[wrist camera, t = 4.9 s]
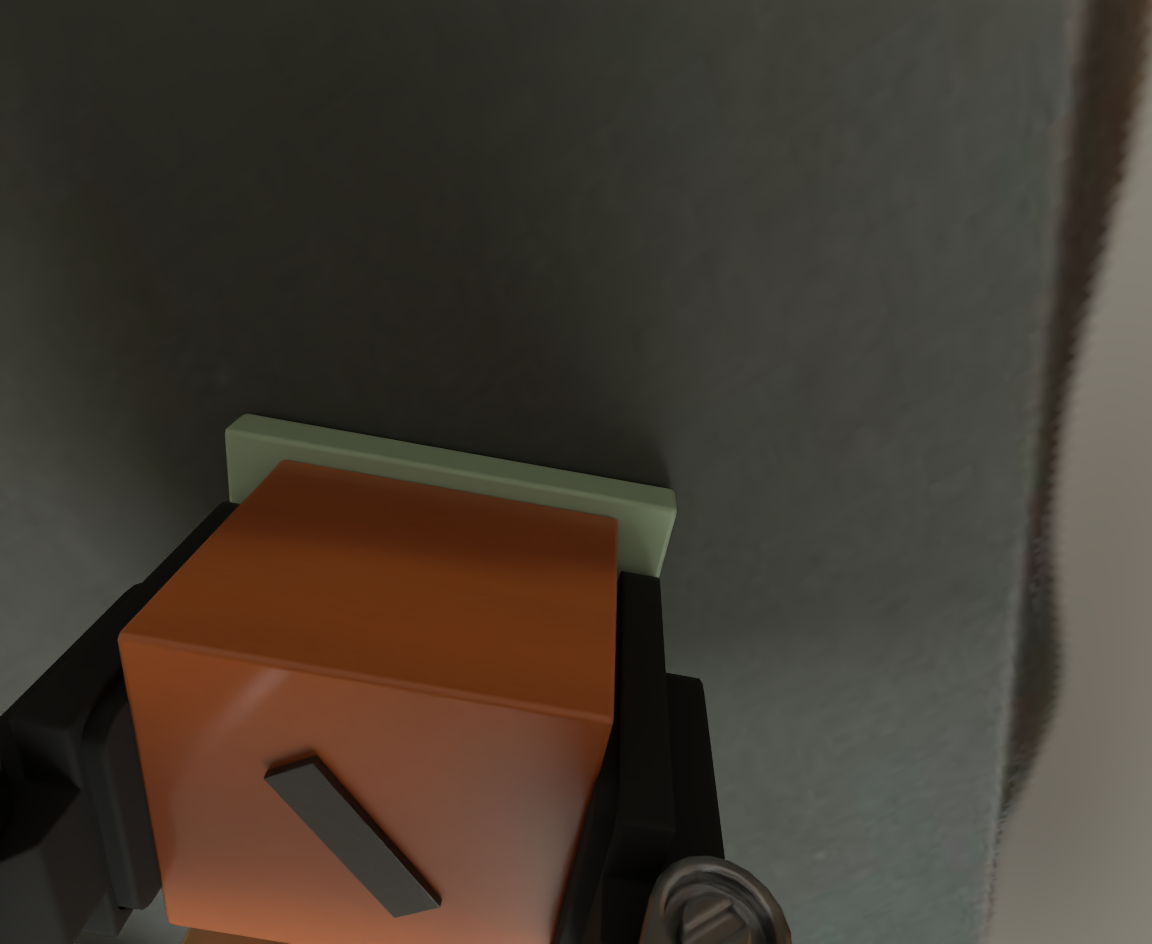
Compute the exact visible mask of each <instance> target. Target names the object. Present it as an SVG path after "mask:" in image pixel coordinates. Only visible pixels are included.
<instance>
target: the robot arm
mask: <svg viewBox="0 0 1152 944" xmlns="http://www.w3.org/2000/svg"><path fill="white" fill-rule="evenodd" d="M239 505H240V504H238V503H232V502H223V503H221V504H220V505H219V506H218V507H217V508H216V509H215V510H214V511H213V512H212V513H211V514H210V515H209V516H208V517H207V518H206V519H205V520H204V521H203V522H202V523H201V524H200V525H199V526H198V527H197V528H196V529H195V530H194V531H193V532H192V533H191V534H190V535H189V536H188V537H187V538H186V539H185V540H184V541H183V542H182V543H181V544H180V545H179V546H178V547H177V548H176V549H175V550H174V551H173V552H172V553H171V554H170V555H169V556H168V557H167V558H166V559H165V560H164V561H163V562H162V563H161V564H160V565H159V566H158V567H157V568H156V569H155V570H154V571H153V572H152V573H151V574H150V575H149V576H148V577H147V578H146V579H145V580H144V581H143V582H142V583H139V584H136V585H134V586H133V587H131V588H130V589H129V590H127V591H126V592H125V593H124V594H123V595H122V596H121V597H120V598H119V599H118V600H117V601H116V602H115V603H114V604H113V605H112V606H111V607H110V608H109V609H108V610H107V611H106V612H105V613H104V614H103V615H102V616H101V617H100V618H99V619H98V620H97V621H96V622H95V623H94V624H93V625H92V626H91V627H90V628H89V629H88V630H87V631H86V632H85V633H84V634H83V635H82V636H81V637H80V638H79V639H78V640H77V641H76V642H75V643H74V644H73V645H72V646H71V647H70V648H69V649H68V650H67V651H66V652H65V653H64V654H63V655H62V656H61V657H60V658H59V659H58V660H57V661H56V662H55V663H54V664H53V665H52V666H51V667H50V668H49V669H48V670H47V671H46V672H45V673H44V674H43V675H42V676H41V677H40V678H39V679H38V680H37V681H36V682H35V683H34V684H33V685H32V686H31V687H30V688H29V689H28V690H27V691H26V692H25V693H24V694H23V695H22V696H21V697H20V698H19V699H18V700H17V701H16V702H15V703H14V704H13V705H12V706H11V707H10V708H9V709H8V710H7V711H6V712H5V713H4V714H3V715H2V716H0V944H73V943H74V941H75V940H76V938H77V937H78V935H79V934H80V932H86V933H93V934H99V935H105V936H111V937H117V936H118V934H119V932H120V931H121V929H122V927H123V926H124V924H125V922H126V921H127V919H128V917H129V916H130V914H131V913H132V911H133V909H140V910H143V909H145V908H146V907H148V905H149V904H150V903H151V902H152V901H153V899H154V898H155V896H156V895H157V893H158V891H159V890H160V888H161V886H162V885H161V880H160V874H159V869H158V863H157V857H156V852H155V846H154V840H153V835H152V829H151V824H150V818H149V812H148V807H147V801H146V796H145V790H144V784H143V779H142V773H141V767H140V762H139V756H138V751H137V745H136V739H135V734H134V728H133V722H132V717H131V711H130V706H129V700H128V696H127V690H126V685H125V679H124V674H123V668H122V662H121V657H120V651H119V646H118V636H119V634H120V631H121V630H122V629H123V628H124V627H125V626H126V625H127V624H128V623H129V622H130V621H131V620H132V619H133V618H134V617H135V616H136V614H137V613H138V612H139V611H140V610H141V609H142V608H143V607H144V606H145V605H146V604H147V603H148V602H149V601H150V600H151V599H152V597H153V596H154V595H155V594H156V593H157V592H158V591H159V590H160V589H161V588H162V587H163V586H164V585H165V584H166V583H167V582H168V580H169V579H170V578H171V577H172V576H173V575H174V574H175V573H176V572H177V571H178V570H179V569H180V568H181V567H182V566H183V565H184V563H185V562H186V561H187V560H188V559H189V558H190V557H191V556H192V555H193V554H194V553H195V552H196V551H197V550H198V549H199V548H200V546H201V545H202V544H203V543H204V542H205V541H206V540H207V539H208V538H209V537H210V536H211V535H212V534H213V533H214V532H215V531H216V529H217V528H218V527H219V526H220V525H221V524H222V523H223V522H224V521H225V520H226V519H227V518H228V517H229V516H230V515H231V513H232V512H233V511H234V510H235V509H236V508H237V507H238V506H239ZM552 944H792V940H791V931H790V929H789V926H788V924H787V921H786V919H785V916H784V914H783V911H782V909H781V907H780V906H779V904H778V903H777V901H776V900H775V898H774V897H773V896H772V894H771V893H770V891H769V890H768V889H767V887H765V886H764V885H763V884H762V883H761V882H760V881H759V880H758V879H757V878H755V877H754V876H753V875H752V874H751V873H750V872H749V871H747V870H745V869H743V868H741V867H739V866H738V865H736V864H734V863H732V862H730V861H728V860H725V857H724V849H723V841H722V833H721V825H720V816H719V808H718V800H717V792H716V784H715V776H714V768H713V760H712V752H711V744H710V736H709V728H708V720H707V712H706V704H705V696H704V690H703V685H702V682H701V680H700V679H699V678H693V677H687V676H682V675H676V674H670V673H666V670H665V654H664V638H663V622H662V606H661V590H660V579H659V578H658V577H653V576H647V575H642V574H636V573H630V572H625V571H621V573H620V575H619V579H618V580H617V612H616V653H615V693H614V722H613V726H612V729H611V733H610V737H609V740H608V744H607V748H606V752H605V755H604V759H603V763H602V767H601V770H600V774H599V775H598V777H597V779H596V783H595V787H594V790H593V794H592V798H591V801H590V805H589V809H588V813H587V816H586V820H585V824H584V828H583V831H582V835H581V839H580V843H579V846H578V850H577V854H576V858H575V861H574V865H573V869H572V872H571V876H570V880H569V884H568V887H567V891H566V895H565V899H564V902H563V906H562V910H561V914H560V917H559V921H558V925H557V929H556V932H555V936H554V940H553V943H552Z"/></svg>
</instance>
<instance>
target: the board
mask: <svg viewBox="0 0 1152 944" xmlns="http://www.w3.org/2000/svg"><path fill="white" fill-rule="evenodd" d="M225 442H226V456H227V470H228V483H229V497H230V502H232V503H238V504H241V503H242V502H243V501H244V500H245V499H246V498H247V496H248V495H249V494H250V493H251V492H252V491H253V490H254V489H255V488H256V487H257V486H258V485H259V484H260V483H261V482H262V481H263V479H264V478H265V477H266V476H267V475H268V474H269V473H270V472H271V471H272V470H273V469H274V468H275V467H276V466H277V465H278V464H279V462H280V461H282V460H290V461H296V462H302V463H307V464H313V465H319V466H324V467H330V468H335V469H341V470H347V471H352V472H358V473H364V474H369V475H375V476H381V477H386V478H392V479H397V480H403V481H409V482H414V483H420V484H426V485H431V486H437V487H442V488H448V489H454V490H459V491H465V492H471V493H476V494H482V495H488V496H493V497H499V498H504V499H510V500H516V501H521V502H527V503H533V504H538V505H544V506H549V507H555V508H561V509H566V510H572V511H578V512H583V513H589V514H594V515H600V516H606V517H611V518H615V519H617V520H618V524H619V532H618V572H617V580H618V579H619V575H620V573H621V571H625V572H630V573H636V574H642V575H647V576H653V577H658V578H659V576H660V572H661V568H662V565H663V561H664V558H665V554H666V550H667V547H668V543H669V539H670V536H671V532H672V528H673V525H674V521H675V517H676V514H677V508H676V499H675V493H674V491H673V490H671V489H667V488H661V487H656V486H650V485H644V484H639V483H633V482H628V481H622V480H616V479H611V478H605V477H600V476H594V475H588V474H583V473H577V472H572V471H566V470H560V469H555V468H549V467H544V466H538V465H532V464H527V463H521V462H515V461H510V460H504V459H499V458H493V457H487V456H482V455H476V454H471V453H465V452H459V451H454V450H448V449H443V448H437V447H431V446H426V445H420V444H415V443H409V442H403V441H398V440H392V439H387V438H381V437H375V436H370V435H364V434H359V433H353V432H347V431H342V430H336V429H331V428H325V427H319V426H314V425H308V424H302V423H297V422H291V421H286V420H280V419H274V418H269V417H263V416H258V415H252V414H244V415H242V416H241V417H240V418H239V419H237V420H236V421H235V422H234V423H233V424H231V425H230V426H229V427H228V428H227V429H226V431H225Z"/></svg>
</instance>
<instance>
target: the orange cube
mask: <svg viewBox="0 0 1152 944" xmlns="http://www.w3.org/2000/svg"><path fill="white" fill-rule="evenodd" d="M618 532H619V524H618V520H617V519H615V518H611V517H606V516H600V515H594V514H589V513H583V512H578V511H572V510H566V509H561V508H555V507H549V506H544V505H538V504H533V503H527V502H521V501H516V500H510V499H504V498H499V497H493V496H488V495H482V494H476V493H471V492H465V491H459V490H454V489H448V488H442V487H437V486H431V485H426V484H420V483H414V482H409V481H403V480H397V479H392V478H386V477H381V476H375V475H369V474H364V473H358V472H352V471H347V470H341V469H335V468H330V467H324V466H319V465H313V464H307V463H302V462H296V461H290V460H282V461H280V462H279V464H278V465H277V466H276V467H275V468H274V469H273V470H272V471H271V472H270V473H269V474H268V475H267V476H266V477H265V478H264V479H263V481H262V482H261V483H260V484H259V485H258V486H257V487H256V488H255V489H254V490H253V491H252V492H251V493H250V494H249V495H248V496H247V498H246V499H245V500H244V501H243V502H242V503H241V504H240V505H239V506H238V507H237V508H236V509H235V510H234V511H233V512H232V513H231V515H230V516H229V517H228V518H227V519H226V520H225V521H224V522H223V523H222V524H221V525H220V526H219V527H218V528H217V529H216V531H215V532H214V533H213V534H212V535H211V536H210V537H209V538H208V539H207V540H206V541H205V542H204V543H203V544H202V545H201V546H200V548H199V549H198V550H197V551H196V552H195V553H194V554H193V555H192V556H191V557H190V558H189V559H188V560H187V561H186V562H185V563H184V565H183V566H182V567H181V568H180V569H179V570H178V571H177V572H176V573H175V574H174V575H173V576H172V577H171V578H170V579H169V580H168V582H167V583H166V584H165V585H164V586H163V587H162V588H161V589H160V590H159V591H158V592H157V593H156V594H155V595H154V596H153V597H152V599H151V600H150V601H149V602H148V603H147V604H146V605H145V606H144V607H143V608H142V609H141V610H140V611H139V612H138V613H137V614H136V616H135V617H134V618H133V619H132V620H131V621H130V622H129V623H128V624H127V625H126V626H125V627H124V628H123V629H122V630H121V631H120V634H119V636H118V646H119V651H120V657H121V662H122V668H123V674H124V679H125V685H126V690H127V696H128V700H129V706H130V711H131V717H132V722H133V728H134V734H135V739H136V745H137V751H138V756H139V762H140V767H141V773H142V779H143V784H144V790H145V796H146V801H147V807H148V812H149V818H150V824H151V829H152V835H153V840H154V846H155V852H156V857H157V863H158V869H159V874H160V880H161V885H162V892H163V898H164V903H165V909H166V914H167V920H168V922H169V923H171V924H173V925H179V926H186V927H192V928H198V929H204V930H210V931H216V932H222V933H228V934H234V935H240V936H247V937H253V938H259V939H265V940H271V941H277V942H283V943H289V944H552V943H553V940H554V936H555V932H556V929H557V925H558V921H559V917H560V914H561V910H562V906H563V902H564V899H565V895H566V891H567V887H568V884H569V880H570V876H571V872H572V869H573V865H574V861H575V858H576V854H577V850H578V846H579V843H580V839H581V835H582V831H583V828H584V824H585V820H586V816H587V813H588V809H589V805H590V801H591V798H592V794H593V790H594V787H595V783H596V779H597V777H598V775H599V774H600V770H601V767H602V763H603V759H604V755H605V752H606V748H607V744H608V740H609V737H610V733H611V729H612V726H613V722H614V693H615V653H616V612H617V572H618Z"/></svg>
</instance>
